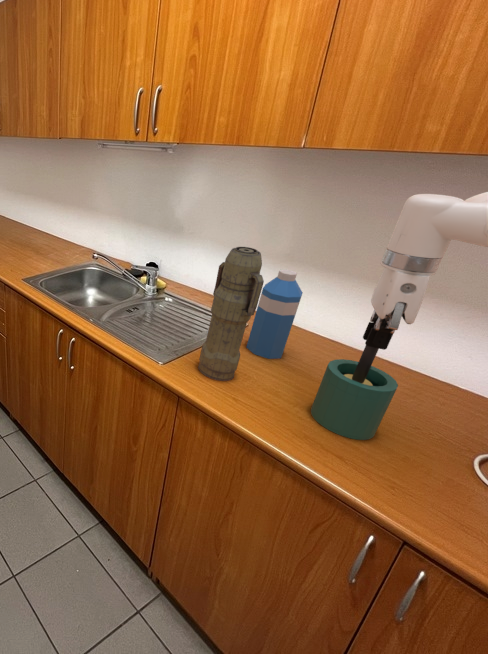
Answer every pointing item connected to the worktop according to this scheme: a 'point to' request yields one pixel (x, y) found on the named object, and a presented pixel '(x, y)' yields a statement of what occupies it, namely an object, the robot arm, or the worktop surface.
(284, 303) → the water bottle
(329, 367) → the teal hollow cylinder
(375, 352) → the joystick
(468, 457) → the worktop surface
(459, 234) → the robot arm
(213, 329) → the thermos
